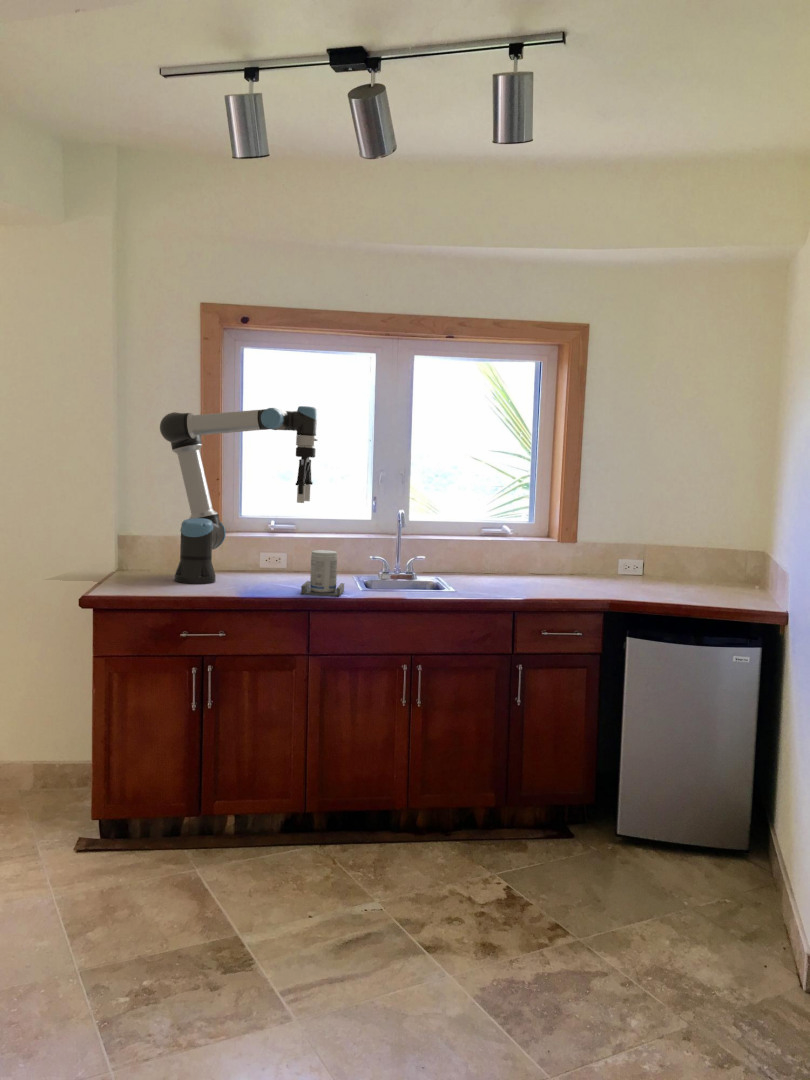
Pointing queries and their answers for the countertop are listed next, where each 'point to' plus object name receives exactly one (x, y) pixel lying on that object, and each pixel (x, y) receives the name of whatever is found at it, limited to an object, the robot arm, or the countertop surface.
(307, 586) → the end holder
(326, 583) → the supplement tub
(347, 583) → the countertop surface
